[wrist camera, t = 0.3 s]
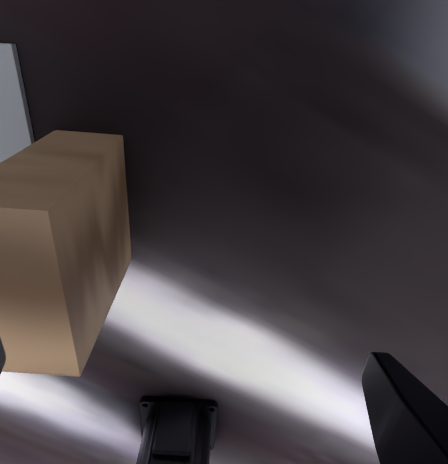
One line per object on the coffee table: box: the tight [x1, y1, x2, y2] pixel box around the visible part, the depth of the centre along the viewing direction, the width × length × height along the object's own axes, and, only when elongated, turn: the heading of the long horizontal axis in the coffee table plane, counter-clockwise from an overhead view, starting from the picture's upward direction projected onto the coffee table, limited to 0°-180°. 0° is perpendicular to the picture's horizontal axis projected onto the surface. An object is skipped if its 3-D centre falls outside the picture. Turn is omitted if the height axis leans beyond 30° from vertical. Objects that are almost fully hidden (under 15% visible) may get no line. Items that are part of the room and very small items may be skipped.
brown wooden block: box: [0, 130, 132, 377], centre depth 17 cm, size 8×4×9 cm, turn 176°
